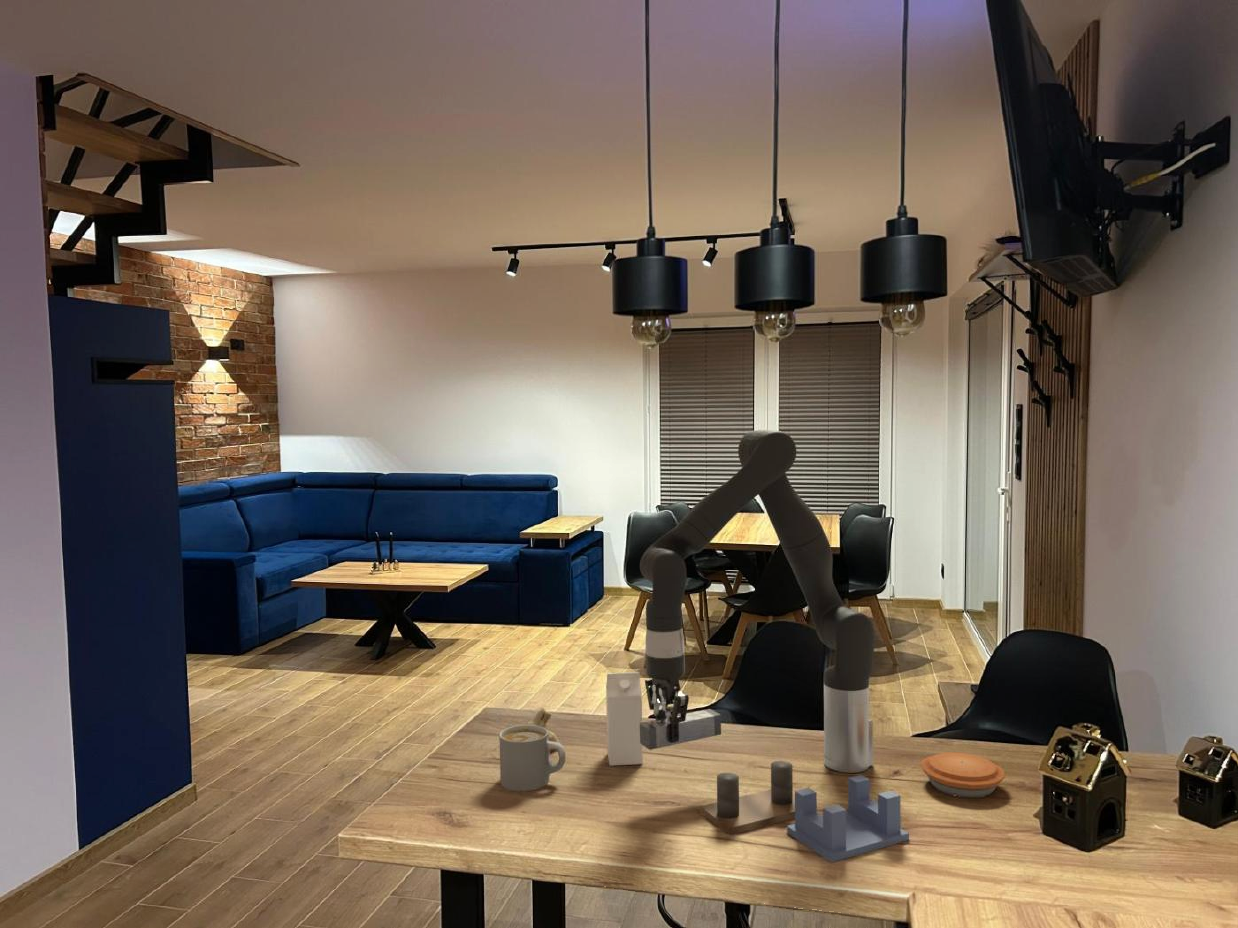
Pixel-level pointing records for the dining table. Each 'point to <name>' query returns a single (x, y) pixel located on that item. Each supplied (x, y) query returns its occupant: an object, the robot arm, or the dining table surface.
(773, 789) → the stand
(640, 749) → the milk carton
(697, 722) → the steel bar
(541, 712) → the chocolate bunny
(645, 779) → the dining table surface
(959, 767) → the pie
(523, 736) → the coffee mug
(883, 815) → the notched cradle
